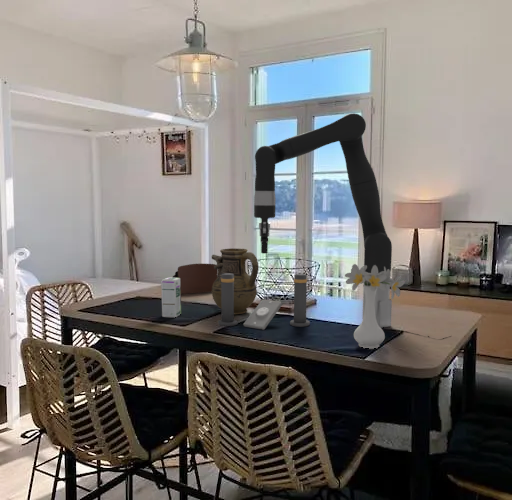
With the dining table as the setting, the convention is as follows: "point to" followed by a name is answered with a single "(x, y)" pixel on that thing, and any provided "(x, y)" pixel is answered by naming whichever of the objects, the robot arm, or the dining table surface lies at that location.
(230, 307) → the post
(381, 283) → the flower vase
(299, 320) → the post
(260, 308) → the light switch
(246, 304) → the decorative pitcher
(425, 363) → the dining table surface
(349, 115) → the robot arm
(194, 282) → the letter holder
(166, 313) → the syrup box
